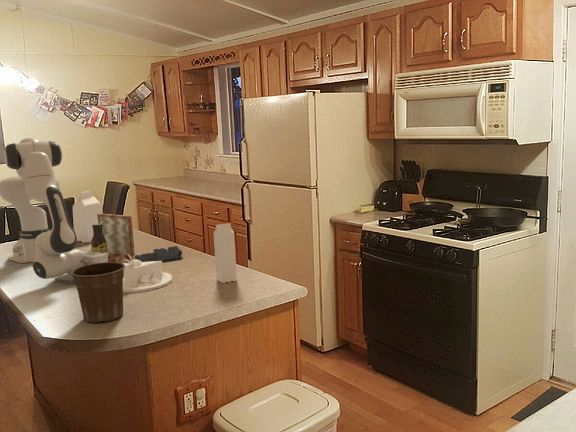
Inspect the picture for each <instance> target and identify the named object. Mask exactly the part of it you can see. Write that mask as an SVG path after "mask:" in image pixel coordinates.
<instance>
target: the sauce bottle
mask: <svg viewBox="0 0 576 432" xmlns="http://www.w3.org/2000/svg"><path fill="white" fill-rule="evenodd" d="M102 227H103V225H102V224H101V223H99V224H93V225H92V228H93V235H94V236H93V238H92V240H91V242H90V243H91V250H92V251H93V252H101V253H103V252H105V251H106V252H107V242H106V240H105V237H104V235H103V231H102ZM107 262H108V261H107Z"/></svg>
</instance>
